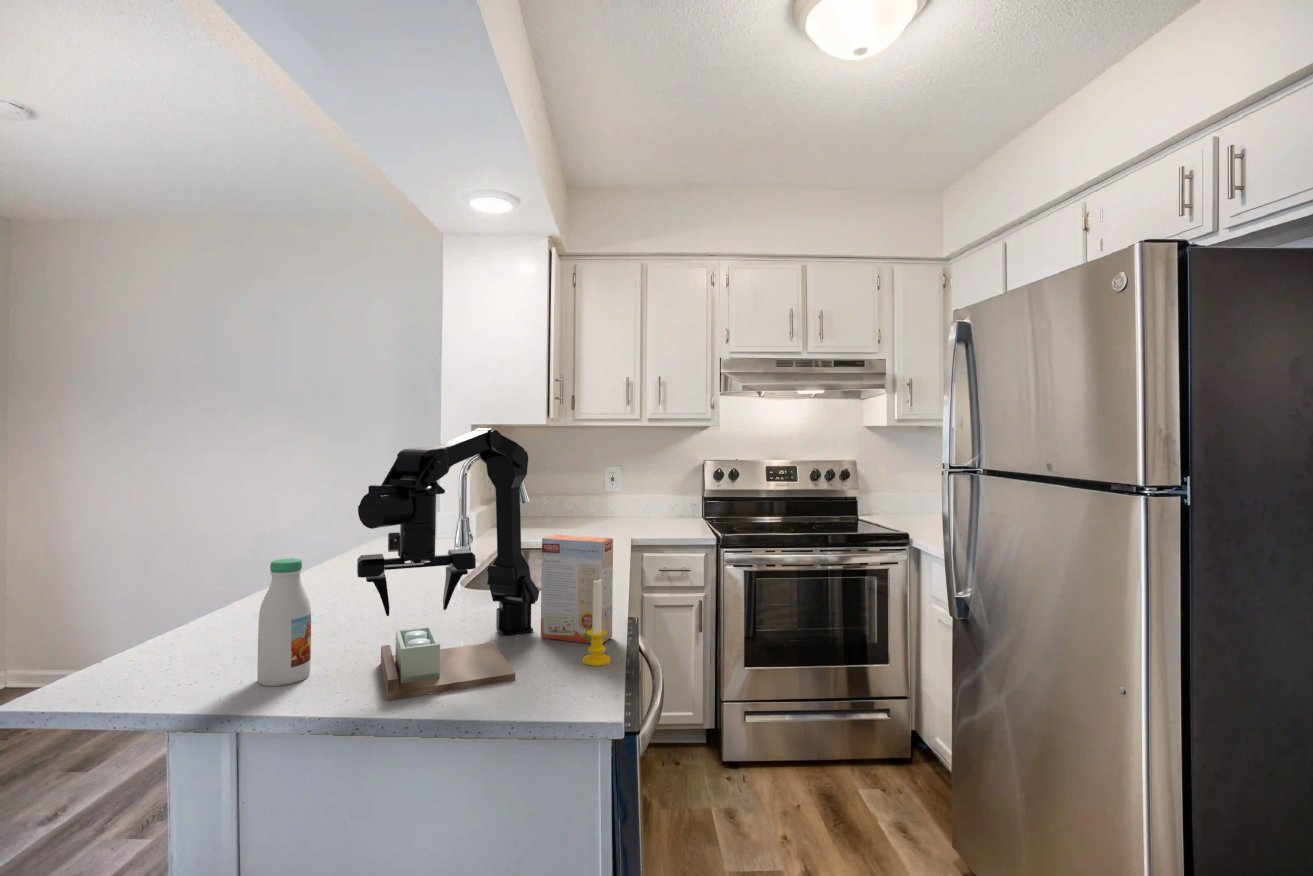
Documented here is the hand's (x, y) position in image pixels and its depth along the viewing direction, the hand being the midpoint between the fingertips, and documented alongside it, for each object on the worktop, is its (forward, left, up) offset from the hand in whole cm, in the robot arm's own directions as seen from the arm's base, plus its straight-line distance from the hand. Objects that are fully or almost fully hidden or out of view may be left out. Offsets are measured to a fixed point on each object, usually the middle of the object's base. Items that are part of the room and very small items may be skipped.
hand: (416, 612), depth 108 cm
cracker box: (-32, -9, -11) cm, 35 cm away
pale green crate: (0, 0, -10) cm, 10 cm away
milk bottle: (+20, -8, -11) cm, 24 cm away
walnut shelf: (-5, 0, -11) cm, 12 cm away
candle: (-31, +6, -11) cm, 34 cm away
